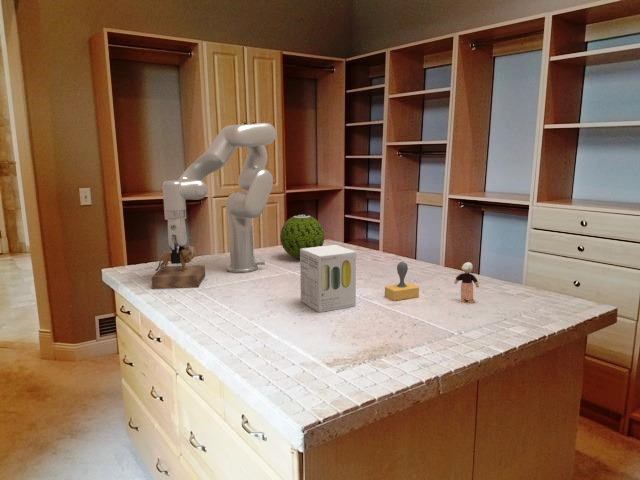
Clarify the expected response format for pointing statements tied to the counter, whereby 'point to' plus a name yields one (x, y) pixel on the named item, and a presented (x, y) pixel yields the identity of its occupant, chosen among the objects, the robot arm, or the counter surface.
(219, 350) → the counter surface
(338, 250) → the supplement box
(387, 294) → the rubber stamp
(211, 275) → the counter surface
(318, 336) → the counter surface
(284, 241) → the decorative ball
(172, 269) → the walnut block
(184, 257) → the lion figurine
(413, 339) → the counter surface
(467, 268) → the grandmother figurine
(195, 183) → the robot arm
